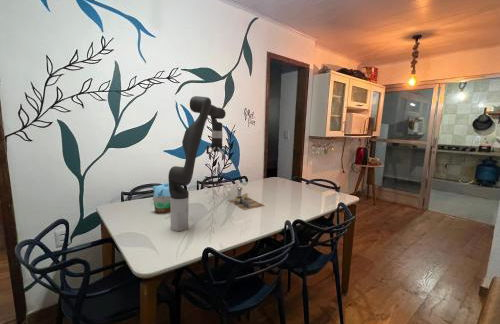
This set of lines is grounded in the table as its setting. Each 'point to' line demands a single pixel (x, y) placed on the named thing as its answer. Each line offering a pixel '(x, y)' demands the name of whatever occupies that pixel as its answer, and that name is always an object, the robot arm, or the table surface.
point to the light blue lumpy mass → (161, 190)
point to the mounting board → (252, 205)
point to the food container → (162, 204)
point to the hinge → (242, 200)
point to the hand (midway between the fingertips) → (216, 159)
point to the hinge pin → (239, 192)
